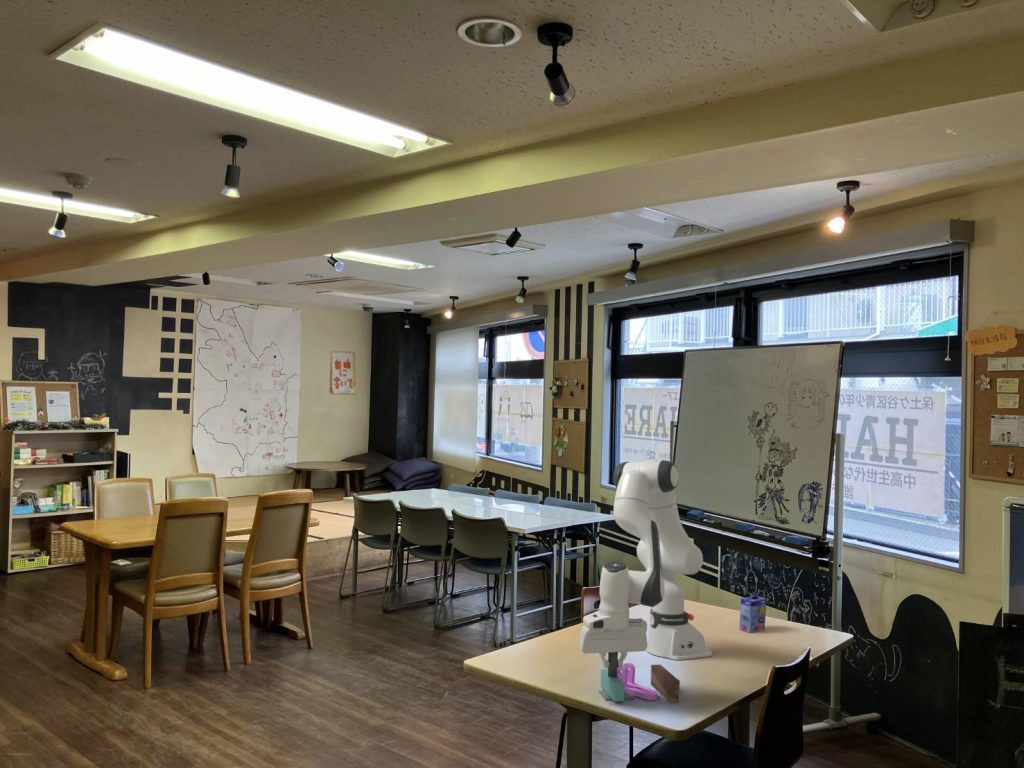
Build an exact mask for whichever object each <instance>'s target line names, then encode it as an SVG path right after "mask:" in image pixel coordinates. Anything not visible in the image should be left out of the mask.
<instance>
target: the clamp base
mask: <svg viewBox="0 0 1024 768" xmlns="http://www.w3.org/2000/svg"><path fill="white" fill-rule="evenodd" d="M650 686H652V688H654V690H655V691H657V692H658V694H660V695H661V696H662V697H663V698H664V699H665V700H666V701H667V702H668V703H669V704H670V703H680V695H681V694H680V689H681V681H680V680H679V679H678V678H677V677H676V676H675V675H673V673H671V672H670V671H669V670H667V668H665V667H664V666H663V665H662V664H651V665H650ZM598 693H599V695H600V696H601V697H602V698H603V700H605V701H613V699H612V698H611V697H610V696H609V695H608V694H607V693H606V691H605V690H599V691H598ZM635 699H636V696H634V695H631V694H628V693H626V692H624V700H635Z"/></svg>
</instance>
